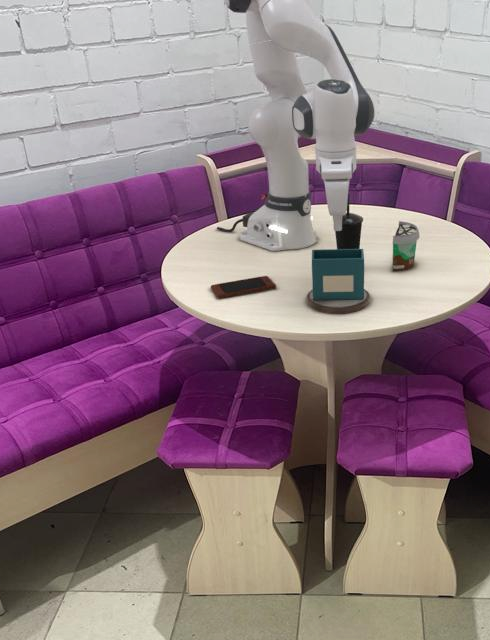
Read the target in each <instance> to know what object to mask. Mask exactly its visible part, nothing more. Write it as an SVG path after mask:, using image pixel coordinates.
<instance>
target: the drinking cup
mask: <svg viewBox="0 0 490 640" xmlns="http://www.w3.org/2000/svg"><path fill="white" fill-rule="evenodd" d="M363 222H364V217H362V216H361V215H360V214H357V213H353V212H350V193H349V192H348V202H347V211H346V214H345V215H343V216H342V230H341V231H335V230H334V235H335V242H336V243H335V244H336V249H361V238H362V237H361V235H362V226H363Z"/></svg>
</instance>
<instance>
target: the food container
mask: <svg viewBox="0 0 490 640" xmlns="http://www.w3.org/2000/svg"><path fill="white" fill-rule="evenodd" d="M420 237H421V236H420V230H419V228H418V226H417V225H416V224H414V223H411V222H409V221H401V220H400V221H398V227H397V229H396V231H395V234H394V235H392V272H405V271H409V270H411V269H413V268H414V266H415V259H416V249H417V242H418V240H419V239H420Z"/></svg>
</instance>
